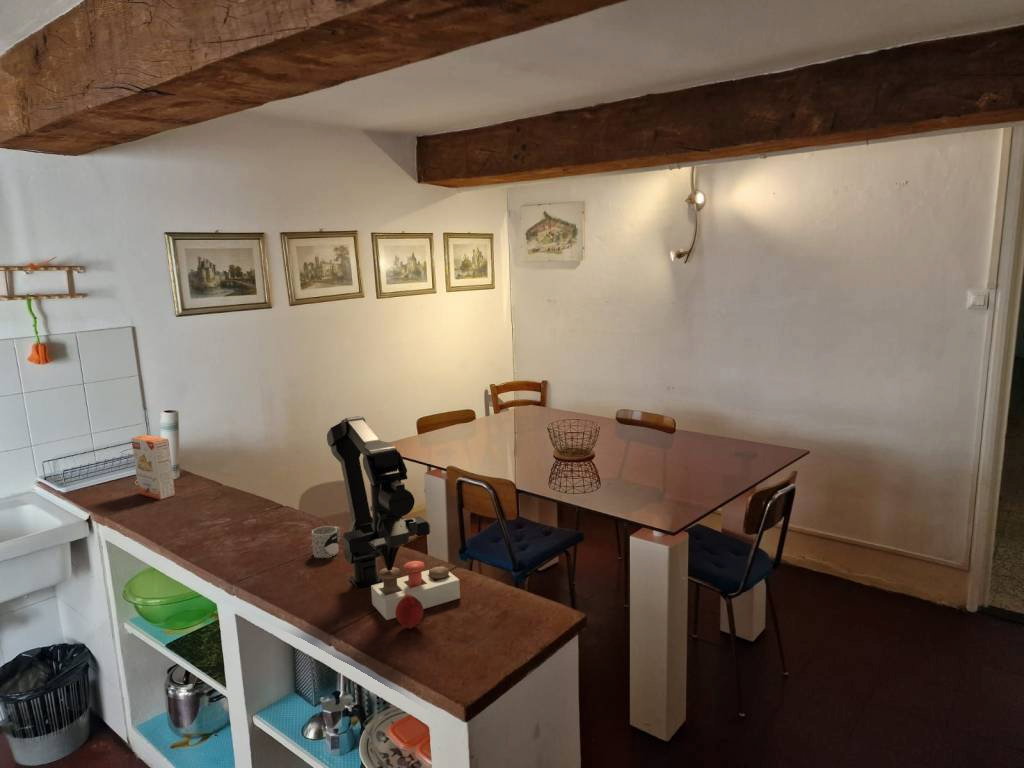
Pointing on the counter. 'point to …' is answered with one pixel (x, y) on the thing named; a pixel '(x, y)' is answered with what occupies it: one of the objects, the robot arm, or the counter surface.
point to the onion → (409, 611)
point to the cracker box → (153, 466)
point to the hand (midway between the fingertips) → (389, 569)
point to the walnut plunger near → (389, 580)
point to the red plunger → (414, 573)
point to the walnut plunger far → (438, 573)
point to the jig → (416, 593)
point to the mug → (325, 541)
